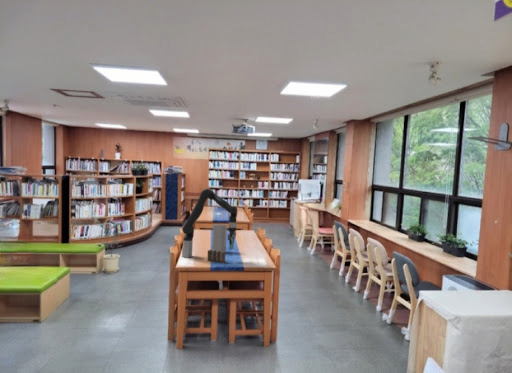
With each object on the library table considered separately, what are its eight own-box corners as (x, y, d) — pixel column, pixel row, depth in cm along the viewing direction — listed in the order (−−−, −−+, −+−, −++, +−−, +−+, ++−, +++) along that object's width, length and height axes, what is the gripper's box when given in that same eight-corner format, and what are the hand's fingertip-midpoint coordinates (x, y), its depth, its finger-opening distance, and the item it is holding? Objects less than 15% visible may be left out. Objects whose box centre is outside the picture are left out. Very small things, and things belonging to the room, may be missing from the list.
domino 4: (220, 263, 301) (221, 252, 300) (223, 261, 306) (223, 251, 305) (222, 263, 300) (222, 253, 300) (224, 262, 305) (225, 252, 304)
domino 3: (216, 262, 303) (216, 252, 302) (218, 260, 307) (219, 251, 307) (218, 262, 302) (218, 252, 301) (220, 261, 307) (220, 251, 306)
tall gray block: (212, 253, 334) (213, 225, 332) (212, 251, 339) (213, 224, 338) (225, 252, 337) (226, 225, 336) (225, 251, 343) (226, 224, 341)
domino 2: (211, 261, 305) (212, 251, 304) (214, 260, 309) (214, 250, 309) (213, 261, 304) (213, 251, 303) (216, 260, 309) (216, 250, 308)
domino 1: (207, 260, 307) (207, 250, 306) (209, 259, 311) (210, 249, 311) (209, 260, 306) (209, 251, 305) (211, 259, 310) (212, 249, 310)
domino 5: (229, 249, 305) (229, 239, 305) (231, 248, 310) (232, 238, 309) (231, 249, 305) (231, 239, 304) (233, 248, 309) (233, 238, 309)
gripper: (232, 225, 314) (231, 241, 315) (225, 227, 301) (224, 244, 302) (238, 225, 311) (238, 242, 312) (232, 228, 298) (231, 245, 299)
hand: (231, 243), depth 307 cm, fingers closed on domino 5, 5 cm apart
